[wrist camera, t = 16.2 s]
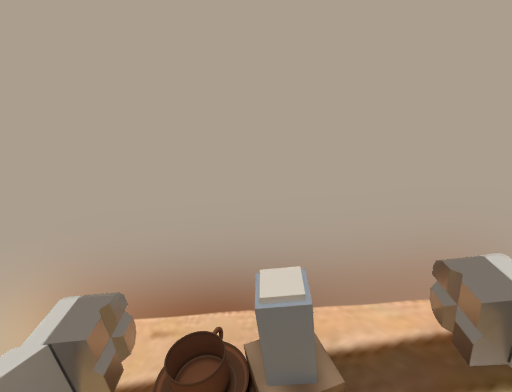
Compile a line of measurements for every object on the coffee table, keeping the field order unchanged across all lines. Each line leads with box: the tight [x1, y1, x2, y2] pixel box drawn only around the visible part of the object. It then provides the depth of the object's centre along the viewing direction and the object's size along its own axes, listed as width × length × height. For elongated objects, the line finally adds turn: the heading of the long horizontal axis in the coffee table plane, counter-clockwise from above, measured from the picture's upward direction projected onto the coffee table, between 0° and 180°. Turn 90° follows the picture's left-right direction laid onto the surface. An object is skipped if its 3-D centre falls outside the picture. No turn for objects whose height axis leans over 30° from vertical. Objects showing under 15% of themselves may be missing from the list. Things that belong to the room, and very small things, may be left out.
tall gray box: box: [255, 266, 318, 386], centre depth 34 cm, size 6×6×12 cm
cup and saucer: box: [153, 327, 249, 392], centre depth 38 cm, size 12×12×6 cm
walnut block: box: [244, 333, 345, 392], centre depth 37 cm, size 9×9×5 cm
